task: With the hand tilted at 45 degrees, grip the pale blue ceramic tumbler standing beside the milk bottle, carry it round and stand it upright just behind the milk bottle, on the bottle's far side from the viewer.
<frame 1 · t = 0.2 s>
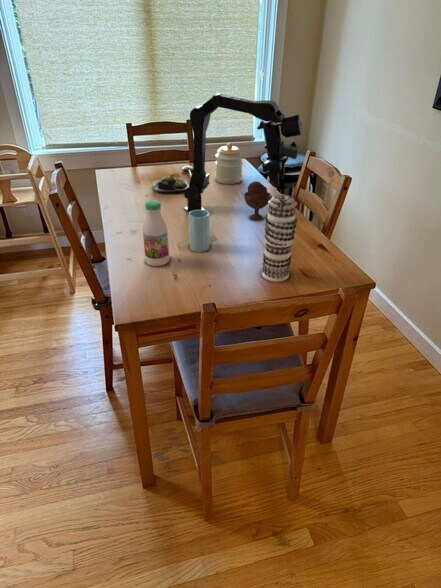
hand: (279, 183, 151), 15 cm above the table, tool pointing down, fingers open, 9 cm apart
ice cream bowl: (256, 218, 163), on the table
jar: (228, 180, 200), on the table
salad plate: (170, 188, 190), on the table
decorative candle: (275, 275, 127), on the table
soupspoon: (189, 175, 206), on the table
tumbler: (199, 247, 141), on the table
milk bottle: (157, 261, 133), on the table
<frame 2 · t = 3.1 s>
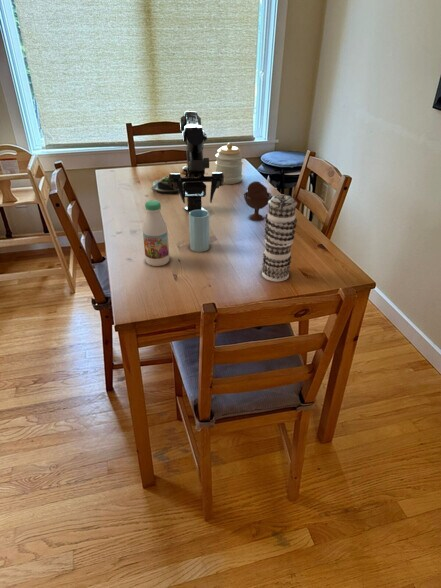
hand: (197, 202, 140), 13 cm above the table, tool tilted 45°, fingers open, 9 cm apart
nothing on the table moved.
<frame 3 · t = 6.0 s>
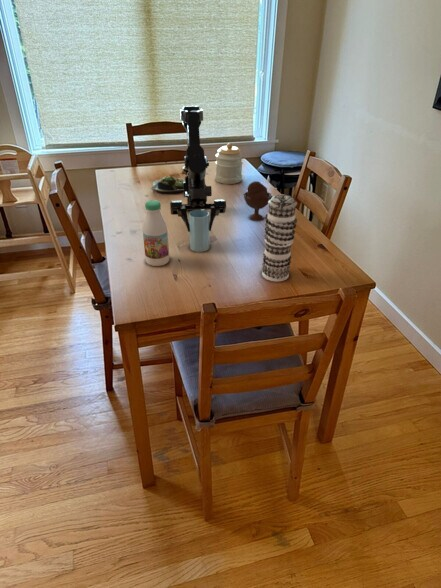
hand: (199, 231, 136), 7 cm above the table, tool tilted 45°, fingers closed on tumbler, 7 cm apart
tumbler: (199, 247, 141), on the table, touching gripper
everything else where it was.
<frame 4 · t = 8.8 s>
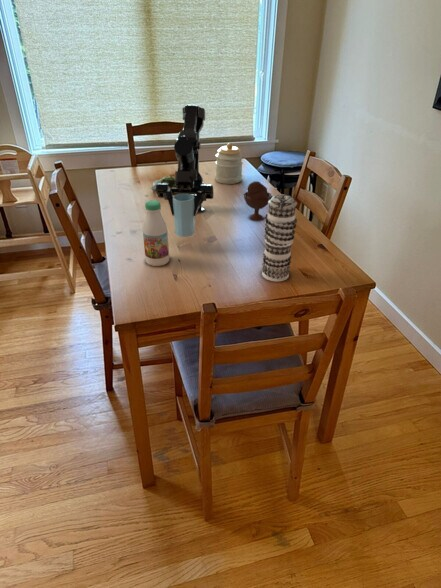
hand: (183, 215, 133), 12 cm above the table, tool tilted 45°, fingers closed on tumbler, 7 cm apart
tumbler: (184, 232, 138), point 6 cm above the table, touching gripper
everything else where it was.
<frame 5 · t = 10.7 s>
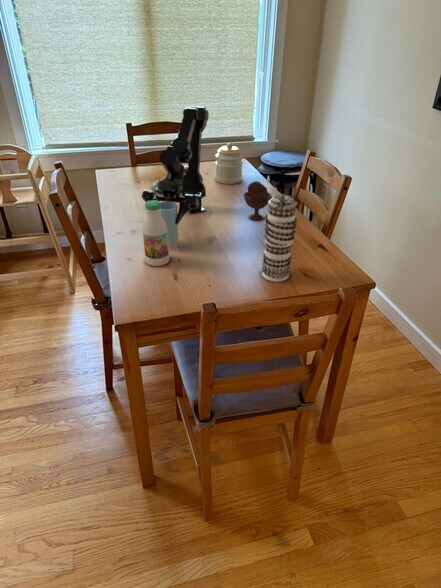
hand: (166, 223, 135), 9 cm above the table, tool tilted 45°, fingers closed on tumbler, 7 cm apart
tumbler: (168, 239, 140), point 2 cm above the table, touching gripper
everything else where it was.
when the fingers open (7 cm above the table, at t = 12.1 s): tumbler stays where it is, on the table.
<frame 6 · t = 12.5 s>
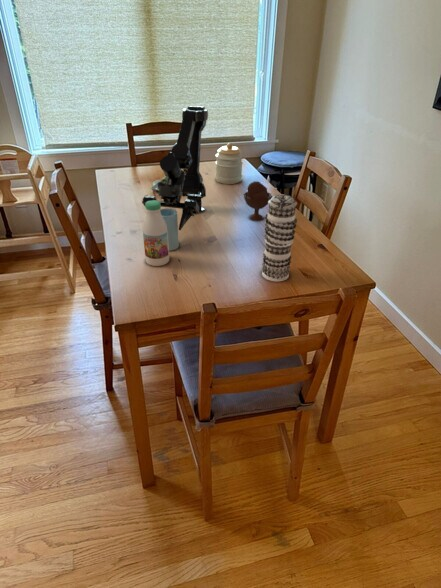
hand: (166, 228, 136), 7 cm above the table, tool tilted 45°, fingers open, 9 cm apart
tumbler: (169, 246, 142), on the table
everything else where it was.
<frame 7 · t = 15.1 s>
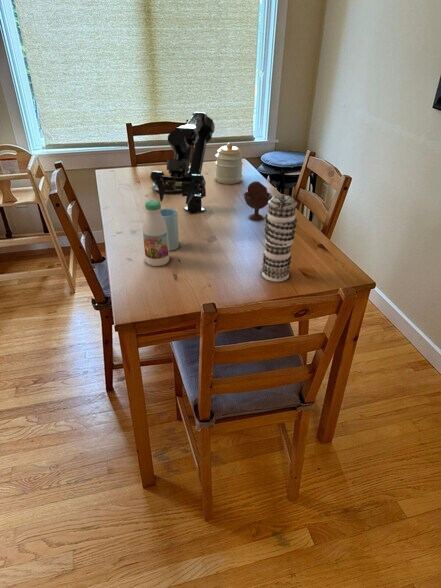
hand: (173, 202, 140), 13 cm above the table, tool tilted 45°, fingers open, 9 cm apart
nothing on the table moved.
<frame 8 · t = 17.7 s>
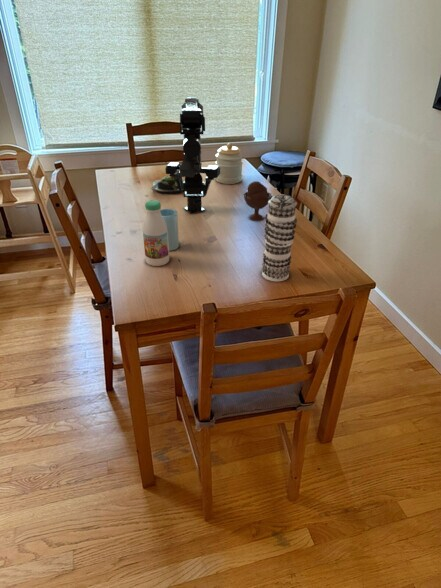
hand: (193, 193, 148), 13 cm above the table, tool pointing down, fingers open, 9 cm apart
nothing on the table moved.
at the end: tumbler inside the target area on the table beside the milk bottle (0.2 cm from its centre), on the table; tumbler tilted 0°; milk bottle moved 0.2 cm from its start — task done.
